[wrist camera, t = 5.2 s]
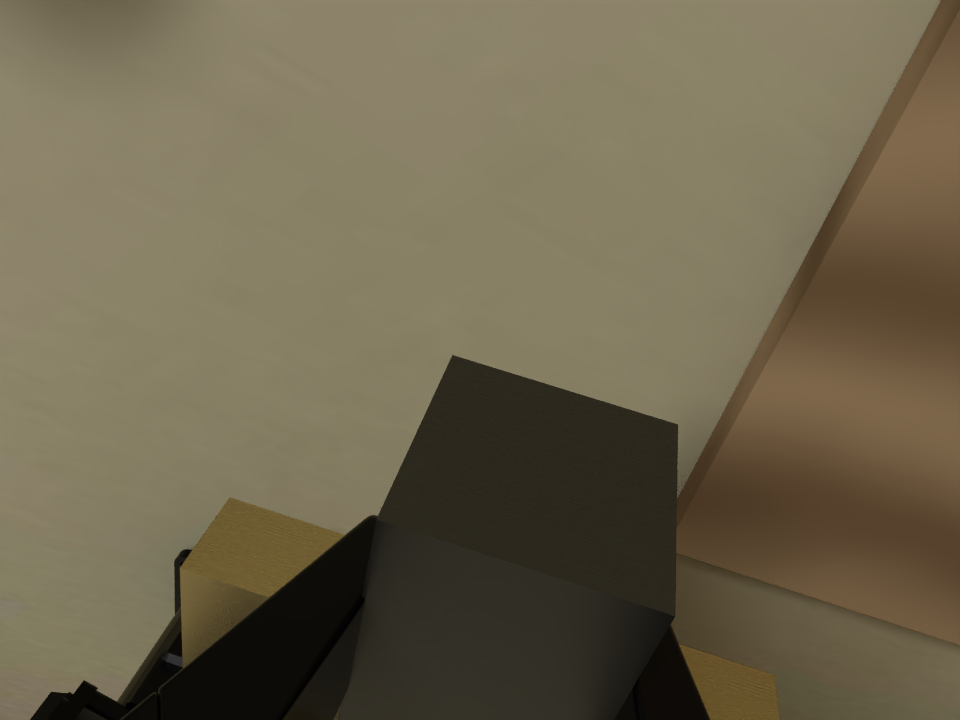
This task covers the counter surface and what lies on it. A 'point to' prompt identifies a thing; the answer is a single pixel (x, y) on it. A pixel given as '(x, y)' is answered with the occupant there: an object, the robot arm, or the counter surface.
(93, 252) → the counter surface
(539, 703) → the brass link
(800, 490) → the plate
